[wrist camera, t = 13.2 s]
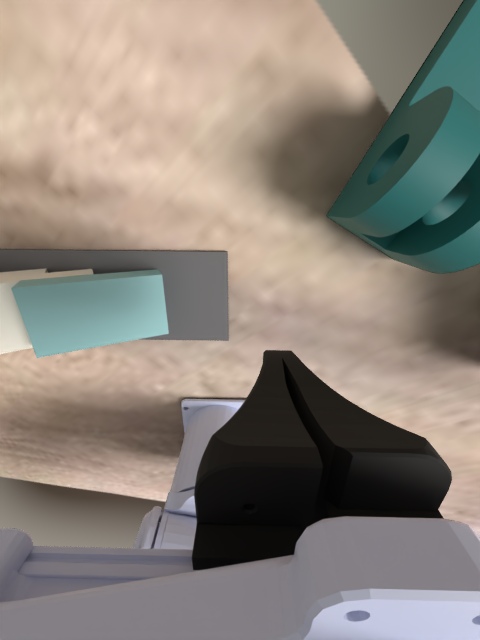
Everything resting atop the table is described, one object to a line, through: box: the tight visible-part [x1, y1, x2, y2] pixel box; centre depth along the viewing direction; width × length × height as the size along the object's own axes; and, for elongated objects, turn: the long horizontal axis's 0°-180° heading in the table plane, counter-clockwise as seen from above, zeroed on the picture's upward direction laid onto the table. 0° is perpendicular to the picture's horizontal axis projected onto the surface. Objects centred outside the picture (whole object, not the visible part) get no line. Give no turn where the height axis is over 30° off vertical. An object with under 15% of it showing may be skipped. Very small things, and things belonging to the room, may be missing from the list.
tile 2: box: [0, 269, 93, 354], centre depth 19 cm, size 5×2×9 cm
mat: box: [0, 249, 229, 341], centre depth 22 cm, size 8×24×1 cm, turn 90°
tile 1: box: [11, 269, 169, 358], centre depth 19 cm, size 5×2×9 cm
